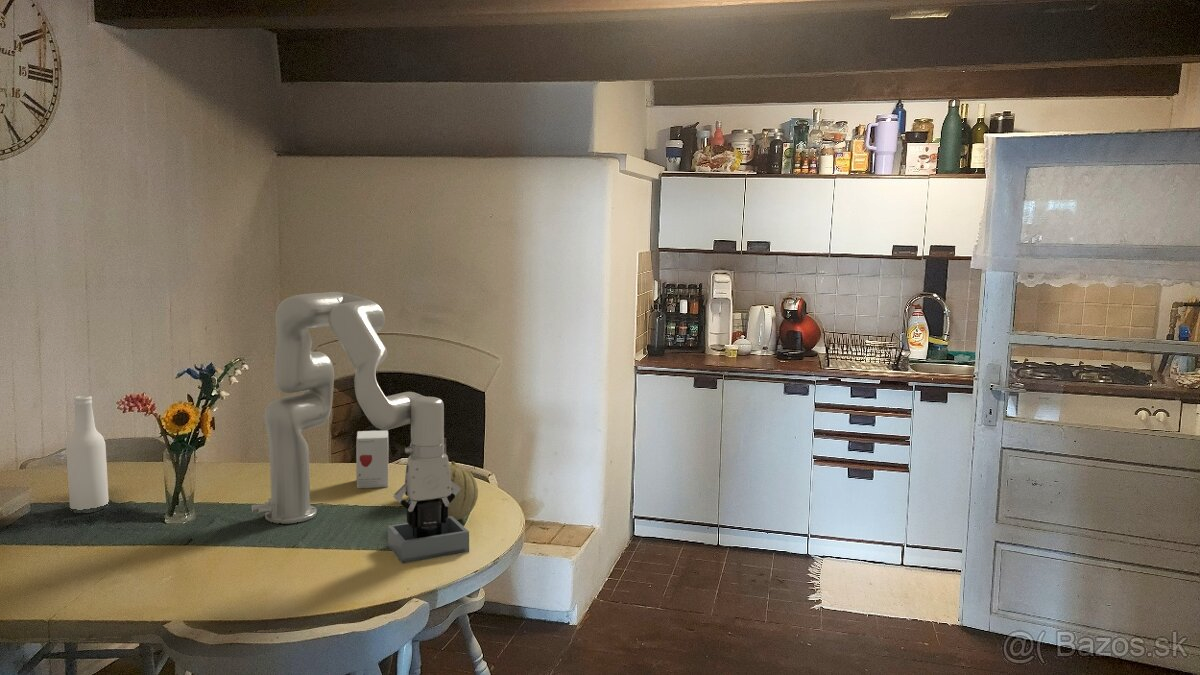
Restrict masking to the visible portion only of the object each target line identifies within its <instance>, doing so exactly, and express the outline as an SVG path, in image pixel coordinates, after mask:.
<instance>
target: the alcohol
mask: <svg viewBox="0 0 1200 675" xmlns="http://www.w3.org/2000/svg"><path fill="white" fill-rule="evenodd" d="M73 400H74V401H73V402H74V429H73V433H71V435H70V436H69V438H68V439H67V441H66V445H65V451H66V452H65V453H66V463H67V464H66V465H67V466H66V467H67V480H68V496H69V498H68V499H69V509H70V508H71V509H77V510H83V509H90V508H97V507H100V506H104V505H106V504H108V502H109V503H110V501H109V500H110V498H109V482H108V465H107V449H106V448H107V446H106V441H105V438H104V436H103V434H101V433H100V432H99V431H98V430H97V428H96V423H95V415H94V408H93V397H92V396H91V395H84V394H83V395H78V396H75V397H74V398H73ZM108 505H109V504H108ZM71 509H70V510H71Z"/></svg>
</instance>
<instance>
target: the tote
mask: <svg viewBox="0 0 1200 675" xmlns="http://www.w3.org/2000/svg"><path fill="white" fill-rule="evenodd" d="M387 547H388V548H389V549H390V550H391V552H393V554H394V555H395V556H396V557H397V559H398V561H400V563H401V564H407V563H414V562H421V561H426V560H432V559H437V558H443V557H449V556H454V555H460V554H465V553H466V554H467V553H470V531H469V530H468V529H467V528H466V527H465V526H464V525H463V524H462V523H461V522H460V521H459V520H456V519H455V518H454V517H453V516H449V517H448V518H446V523H442V534H441V535H435V536H429V537H423V538H417V539H415V538H414V537H413V528H412V527H411V526H410V525H409V524H408V523H407V522H403V523H397V524H392V525H391V524H389V525H387Z"/></svg>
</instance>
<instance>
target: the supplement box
mask: <svg viewBox="0 0 1200 675" xmlns="http://www.w3.org/2000/svg"><path fill="white" fill-rule="evenodd" d="M355 445H356V447H355V448H356V449H355V450H356V451H355V453H356V455H355V458H356V459H355V460H356V470H355V471H356V474H355V475H356V489H369V488H370V489H371V488H388V487H389V430H363V431H361V430H358V431H356V443H355Z"/></svg>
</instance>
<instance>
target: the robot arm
mask: <svg viewBox="0 0 1200 675" xmlns="http://www.w3.org/2000/svg"><path fill="white" fill-rule="evenodd" d="M274 320H275V321H274V322H275V332H276V333H275V334H276V341H275V342H276V343H275V351H274V354H275V355H274V365H273V366H274V368H273V382H274V386H275V388H276V389H277V390H278V391H279V392H281V393H286V394H287V393H288V394H291V393H296V394H291V395H287V396H282V397H279V398H276V399H274V400H272V401H271V402H270V403H268V405H267V406H266V407H265V409H264V415H263V418H264V419H263V420H264V425H265V428H266V433H267V438H268V446H269V468H270V469H269V471H270V473H269V474H270V475H269V476H270V498H268V501H267V502H264V503H263V504H262V503H261V504H259V503H258V504H252V505H251V511H252V512H251V513H258V515H260V514H264V517H265V520H266V521H267V520H268V521H267V522H269V521H270V522H269V523H272V522H273V524H279V523H281V525H286V524H287V525H288V524H298V523H302V522H306V521H309V520H311V519H313V518H314V517H316V516H317V512H318V511H317V508H316V507H315V506H313V505H311V487H310V485H311V483H310V482H311V481H310V477H311V476H310V450H309V445H308V442H307V441H306V439H305V437H304V436H303V434H302V432H303V431H305V430H306V431H307V430H309V429H313V428H317V427H319V426H322V425H323V424H325V423H326V422H327V421H328V420H329V418H330V415H331V411H332V407H333V406H332V404H333V393H334V386H335V385H334V383H335V369H334V365H333V363H332V360H331V359H330V357H329V356H328V355H327V354H326V353H324V352H322V351H312V348H313V347H312V346H313V340H312V336H311V334H310V331H309V330H308V329H312V328H313V329H315V328H323V327H330V328H331V331H332V333H333V334H334V335H335V337H336V338H337V340H338V342H339V344H340V345H341V347H342V349H343V350H344V352H345V353H346V355H347V357H348V359H349V360H350V362H351V363H352V364H353V367H354V369H355V371H354V372H355V374H354V378H353V382H354V392H355V396H356V400H357V403H358V404H359V406H360V408H361V409H362V411H363V414H364V415H365V416H366V418H367V419H368V421H369V422H370V423H371V424H372V426H374V427H375V428H377V429H379V430H381V431H389V430H391V429H392V430H393V429H395V428H399V427H403V426H406V425H410V444H409V446H408V447H405V448H404V453H405V454H410V455H409V456H408V458H407V461H406V469H405V475H404V484H403V485H401V487H400V488H399V489H398V490H397V491H396V492H394V494H393V496H392V497H393V498H394V500H396V501H397V502H398V503H399V504H400V505H401V506H403V508H405V509H406V523H408V524H409V525H410V526H411V527H412V528H415V527H416V512H415V511H414V507H415V505H416V503H417V501H425V500H432V499H439V498H440V499H441V500H442V523H446V518H448V506H449V505H450V503H451V501H452V500H453V499H454V498H455V496H456V495H457V494H458V492H459V491H460V489H461V488H460V487H459V486H458V485H456V484H455V483H454V482H452V481H451V478H450V468H449V465H450V462H449V457H448V454H447V453H446V454H444V438H445V411H444V410H445V406H444V405H445V404H444V401H443V400H442V399H441V398H439V397H435V396H425V395H422V394H420V393H417V392H414V391H405V392H400V393H395V394H391V395H385V394H384V392H383V390H382V389H381V386H379V383H378V381H377V376H376V375H377V374H376V372H377V369H378V367H379V366H380V365H381V364H382V363H383V362H384V361H385V360H386V358H387V357H388V350H387V348H386V346H385V345H384V343H383V341H382V340H381V338H380V337H379V335H378V334H377V333H378V332H380V331H381V330H383V328H384V327H385V322H386V315H385V312H384V310H383V309H382V307H381V306H380V305H379V304H378V303H377V302H375V301H373V300H371V299H367V298H364V297H361V296H357V295H353V294H349V293H347V292H346V293H345V292H343V291H328V292H325V291H324V292H312V293H302V294H297V295H295V294H294V295H291V296H289V297H287V298H285V299H283V300H282V301H281V302H279V304H278V306H277V309H276V310H275V318H274ZM299 392H301V393H299ZM451 487H452V490H451ZM404 495H405V496H406V497H408V498H407V500H405V499H404V498H403V496H404ZM297 522H298V523H297Z"/></svg>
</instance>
